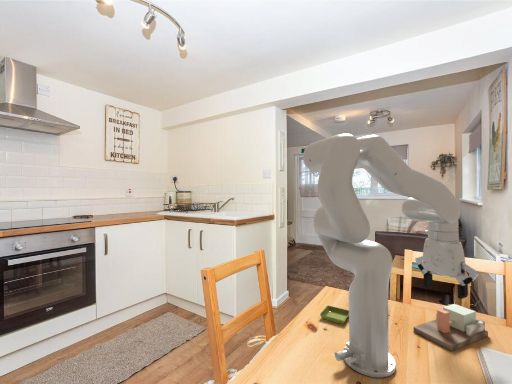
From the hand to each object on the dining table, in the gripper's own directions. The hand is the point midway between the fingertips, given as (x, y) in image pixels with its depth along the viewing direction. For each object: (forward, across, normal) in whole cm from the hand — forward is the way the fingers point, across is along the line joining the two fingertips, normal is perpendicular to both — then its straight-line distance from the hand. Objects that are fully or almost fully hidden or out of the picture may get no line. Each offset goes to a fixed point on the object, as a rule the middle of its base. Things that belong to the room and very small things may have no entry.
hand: (444, 291), depth 78 cm
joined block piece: (+12, 0, +4) cm, 13 cm away
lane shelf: (+14, 0, +2) cm, 14 cm away
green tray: (+14, -23, -23) cm, 35 cm away
